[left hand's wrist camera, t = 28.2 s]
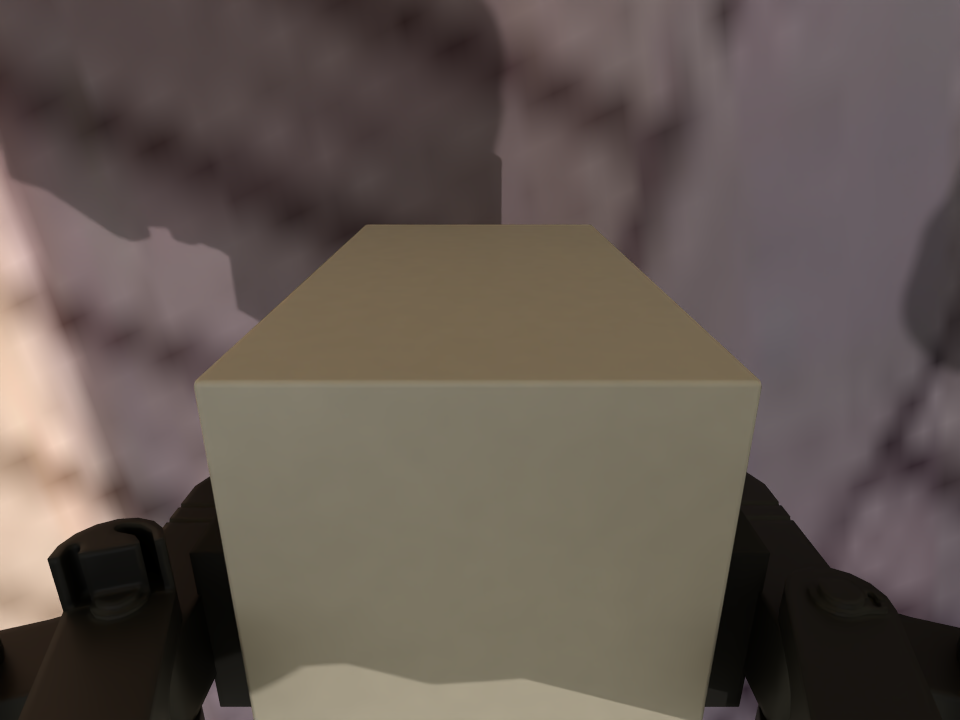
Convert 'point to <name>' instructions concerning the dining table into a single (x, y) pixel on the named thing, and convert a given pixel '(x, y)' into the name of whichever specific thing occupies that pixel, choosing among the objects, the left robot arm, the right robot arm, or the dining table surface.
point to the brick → (477, 483)
